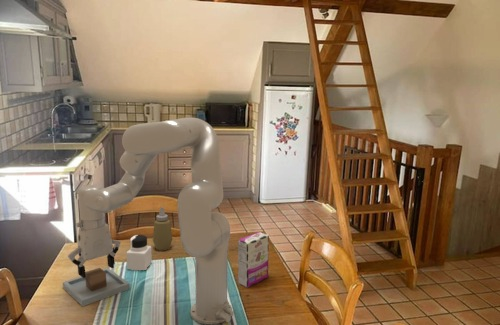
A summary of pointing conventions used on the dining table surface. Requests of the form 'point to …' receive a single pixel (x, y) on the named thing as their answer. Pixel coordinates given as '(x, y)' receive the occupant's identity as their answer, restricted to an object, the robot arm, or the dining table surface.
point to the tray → (87, 296)
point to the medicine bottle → (139, 253)
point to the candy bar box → (253, 259)
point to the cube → (95, 279)
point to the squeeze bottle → (162, 231)
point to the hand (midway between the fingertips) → (97, 271)
